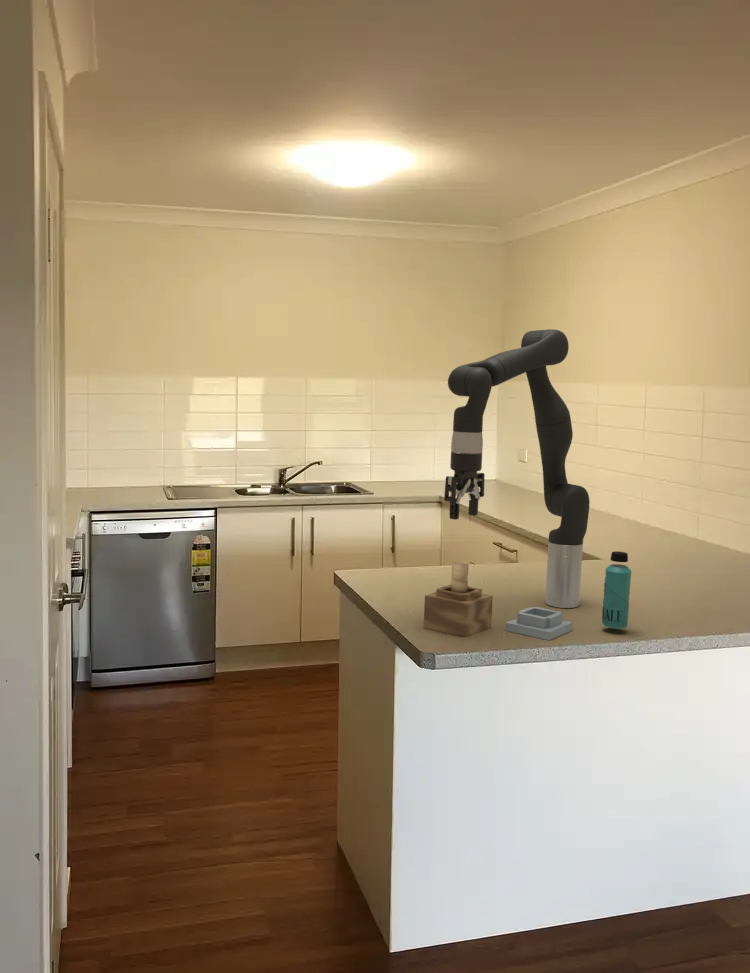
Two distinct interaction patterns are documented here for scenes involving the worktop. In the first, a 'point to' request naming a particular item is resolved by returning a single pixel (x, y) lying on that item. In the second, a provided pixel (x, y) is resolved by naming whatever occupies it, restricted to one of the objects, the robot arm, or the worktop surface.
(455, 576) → the birch peg
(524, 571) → the worktop surface
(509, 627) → the slate dock
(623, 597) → the beverage bottle
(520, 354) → the robot arm
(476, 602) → the walnut dock
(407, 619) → the worktop surface
